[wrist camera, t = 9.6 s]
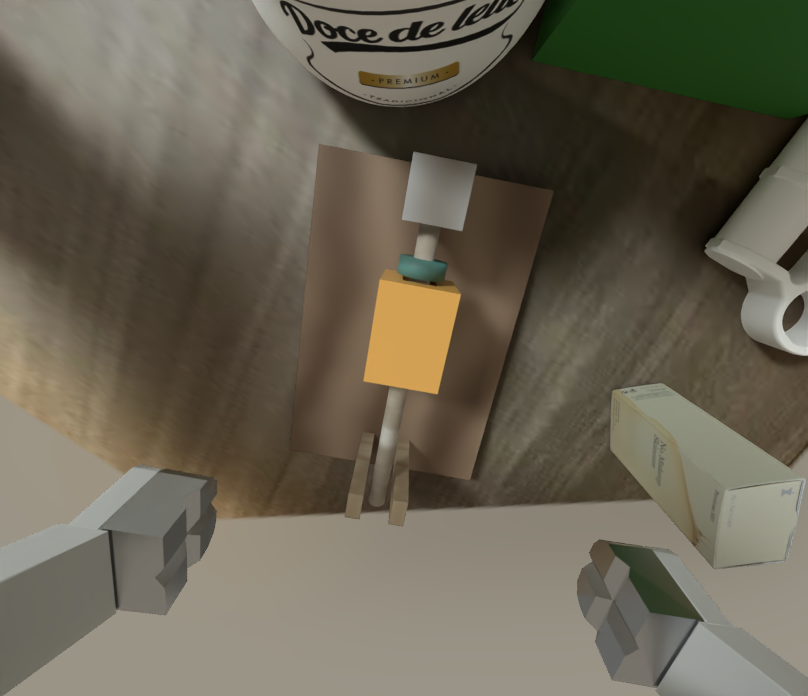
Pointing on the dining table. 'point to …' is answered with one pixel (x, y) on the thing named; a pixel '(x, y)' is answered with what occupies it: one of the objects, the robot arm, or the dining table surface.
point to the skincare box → (706, 477)
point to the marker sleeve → (411, 332)
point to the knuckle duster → (771, 247)
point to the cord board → (421, 261)
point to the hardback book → (687, 48)
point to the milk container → (398, 43)
